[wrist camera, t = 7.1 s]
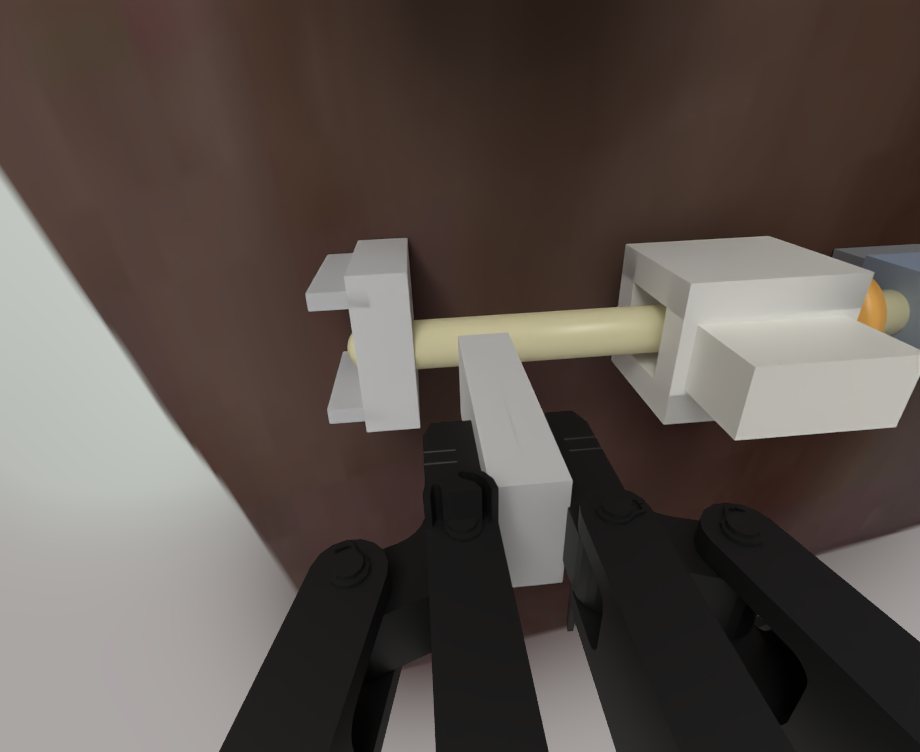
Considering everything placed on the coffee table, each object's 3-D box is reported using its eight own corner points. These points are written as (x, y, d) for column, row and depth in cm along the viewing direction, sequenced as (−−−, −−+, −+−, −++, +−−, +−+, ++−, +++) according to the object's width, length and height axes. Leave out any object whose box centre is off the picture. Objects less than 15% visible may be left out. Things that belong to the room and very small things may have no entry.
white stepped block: (625, 243, 20) (750, 319, 13) (768, 235, 20) (969, 304, 13) (611, 360, 22) (708, 479, 15) (738, 351, 23) (893, 463, 15)
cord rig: (325, 242, 20) (297, 286, 15) (942, 209, 22) (1106, 238, 17) (346, 372, 23) (328, 447, 18) (890, 334, 25) (1016, 392, 19)
